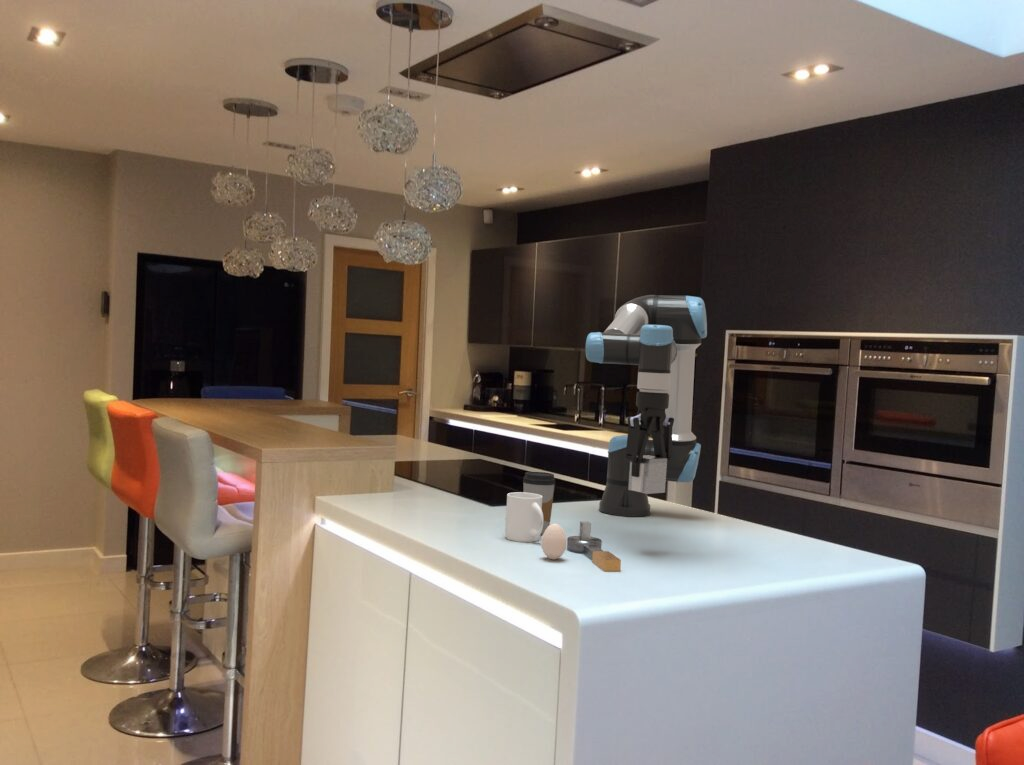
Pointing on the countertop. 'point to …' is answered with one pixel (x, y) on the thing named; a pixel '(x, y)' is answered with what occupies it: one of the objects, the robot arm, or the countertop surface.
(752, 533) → the countertop surface
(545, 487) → the coffee cup
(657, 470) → the grey rectangular block
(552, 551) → the egg
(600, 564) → the ratchet
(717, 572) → the countertop surface
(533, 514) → the mug
